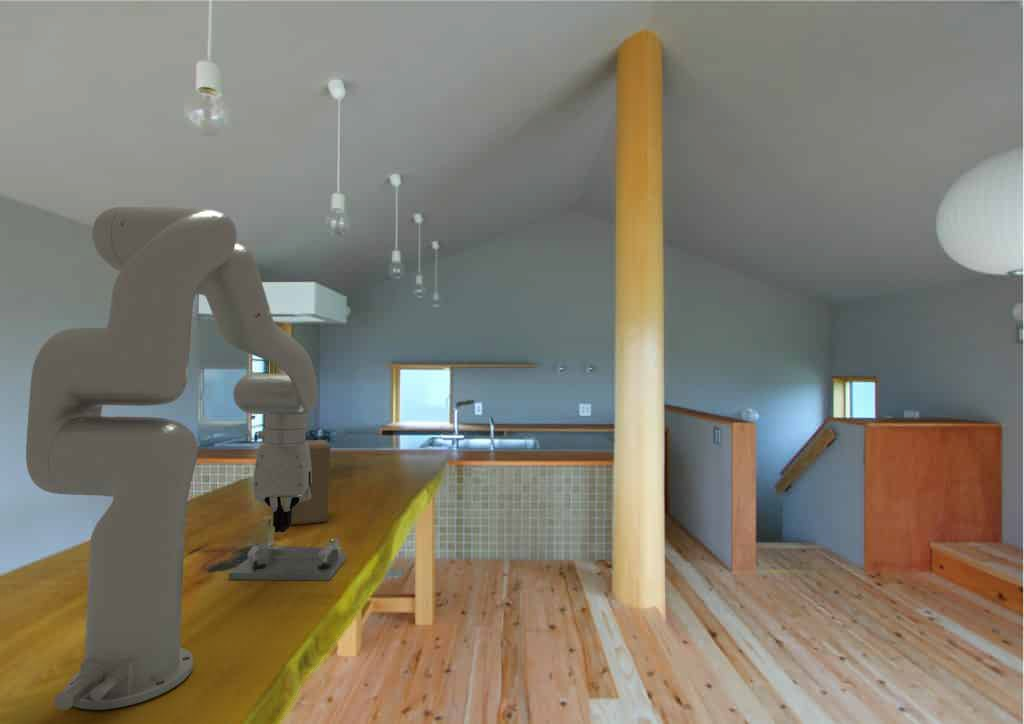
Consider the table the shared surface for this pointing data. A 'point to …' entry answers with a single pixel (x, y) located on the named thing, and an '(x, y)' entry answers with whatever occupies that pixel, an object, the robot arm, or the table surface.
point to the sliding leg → (263, 537)
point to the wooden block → (315, 487)
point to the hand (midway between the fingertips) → (281, 530)
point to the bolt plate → (292, 563)
